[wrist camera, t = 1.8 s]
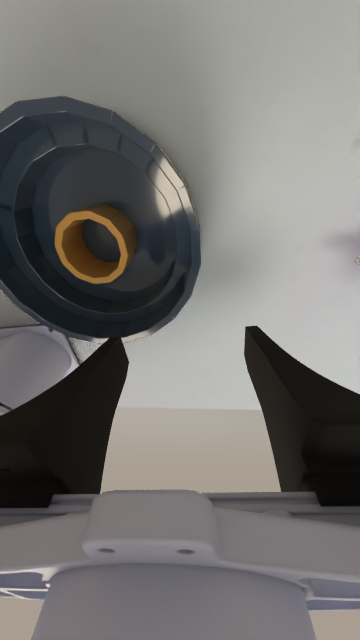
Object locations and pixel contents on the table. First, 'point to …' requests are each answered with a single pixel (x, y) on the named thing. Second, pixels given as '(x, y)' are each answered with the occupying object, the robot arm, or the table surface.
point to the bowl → (90, 190)
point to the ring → (80, 257)
